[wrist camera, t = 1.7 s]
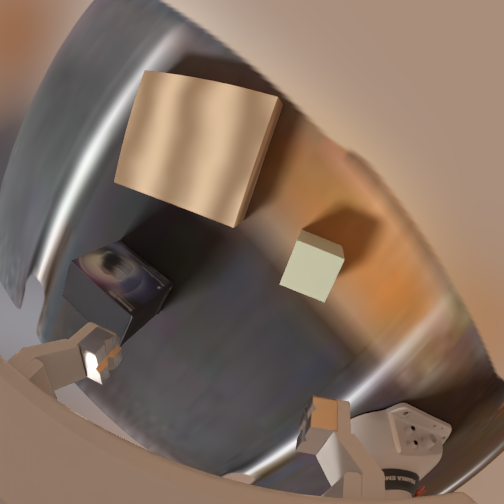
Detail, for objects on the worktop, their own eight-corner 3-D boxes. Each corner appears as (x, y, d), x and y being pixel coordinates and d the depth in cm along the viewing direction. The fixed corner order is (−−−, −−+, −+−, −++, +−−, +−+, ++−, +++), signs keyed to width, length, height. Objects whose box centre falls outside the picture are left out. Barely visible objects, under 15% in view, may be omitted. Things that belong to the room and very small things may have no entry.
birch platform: (283, 104, 29) (277, 97, 25) (243, 220, 34) (233, 227, 30) (161, 77, 31) (144, 70, 27) (132, 179, 36) (114, 182, 32)
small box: (177, 281, 39) (133, 317, 29) (159, 313, 41) (119, 351, 31) (120, 236, 39) (68, 259, 29) (107, 270, 41) (60, 297, 32)
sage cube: (342, 245, 32) (344, 259, 28) (324, 283, 34) (324, 302, 29) (301, 229, 33) (297, 240, 28) (285, 267, 35) (279, 284, 30)
